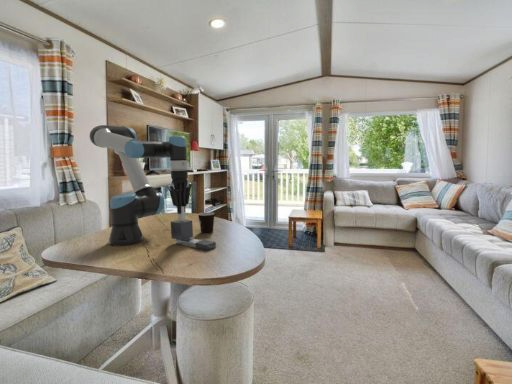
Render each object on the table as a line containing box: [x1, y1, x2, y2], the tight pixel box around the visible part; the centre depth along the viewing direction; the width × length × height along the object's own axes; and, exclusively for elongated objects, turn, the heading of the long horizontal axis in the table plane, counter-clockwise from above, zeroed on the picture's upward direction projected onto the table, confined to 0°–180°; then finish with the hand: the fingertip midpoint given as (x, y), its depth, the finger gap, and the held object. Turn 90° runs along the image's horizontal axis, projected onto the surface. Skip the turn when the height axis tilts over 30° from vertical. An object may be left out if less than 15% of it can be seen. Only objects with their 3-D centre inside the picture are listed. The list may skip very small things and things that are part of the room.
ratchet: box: [175, 237, 217, 252], centre depth 133 cm, size 22×6×6 cm, turn 56°
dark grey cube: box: [170, 218, 194, 240], centre depth 137 cm, size 7×7×8 cm
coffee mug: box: [197, 212, 215, 234], centre depth 158 cm, size 12×9×10 cm
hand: (181, 219), depth 136 cm, fingers closed
